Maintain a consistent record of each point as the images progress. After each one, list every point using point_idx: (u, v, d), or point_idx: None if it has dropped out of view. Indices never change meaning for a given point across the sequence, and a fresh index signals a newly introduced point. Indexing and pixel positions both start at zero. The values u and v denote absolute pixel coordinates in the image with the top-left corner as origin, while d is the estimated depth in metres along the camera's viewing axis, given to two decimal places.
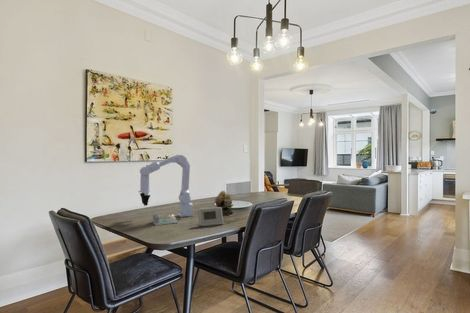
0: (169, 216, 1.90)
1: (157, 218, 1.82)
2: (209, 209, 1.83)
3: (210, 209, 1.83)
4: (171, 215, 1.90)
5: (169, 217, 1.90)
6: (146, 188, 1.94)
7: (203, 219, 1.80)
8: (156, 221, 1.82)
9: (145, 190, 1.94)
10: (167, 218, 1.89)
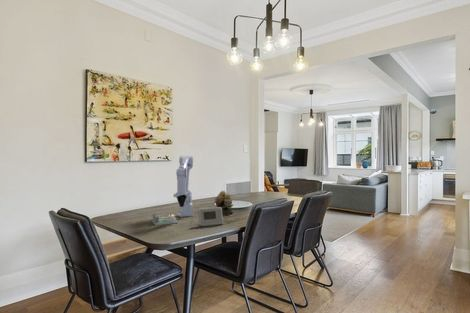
0: (169, 216, 1.90)
1: (157, 218, 1.82)
2: (209, 209, 1.83)
3: (210, 209, 1.83)
4: (171, 215, 1.90)
5: (169, 217, 1.90)
6: (179, 190, 1.90)
7: (203, 219, 1.79)
8: (156, 221, 1.82)
9: (179, 192, 1.91)
10: (167, 218, 1.89)
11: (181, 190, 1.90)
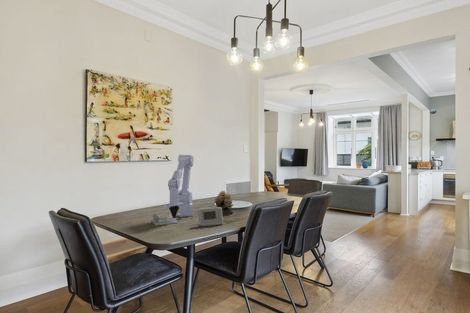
0: (167, 216, 1.89)
1: (157, 218, 1.82)
2: (209, 209, 1.83)
3: (210, 209, 1.83)
4: (169, 215, 1.90)
5: None
6: (171, 201, 1.89)
7: (203, 219, 1.79)
8: (156, 221, 1.82)
9: (170, 203, 1.89)
10: (165, 218, 1.88)
11: (172, 201, 1.88)
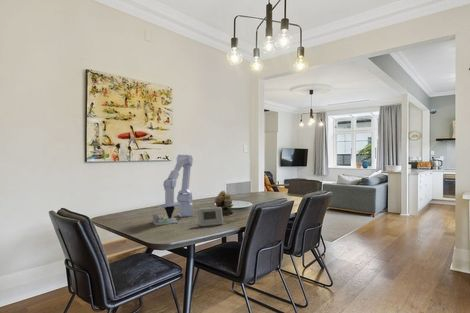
0: (162, 217, 1.88)
1: (157, 218, 1.82)
2: (209, 209, 1.83)
3: (210, 209, 1.83)
4: (164, 216, 1.88)
5: (162, 218, 1.88)
6: (166, 201, 1.88)
7: (203, 219, 1.79)
8: (156, 221, 1.82)
9: (165, 203, 1.88)
10: (160, 219, 1.87)
11: (167, 201, 1.87)
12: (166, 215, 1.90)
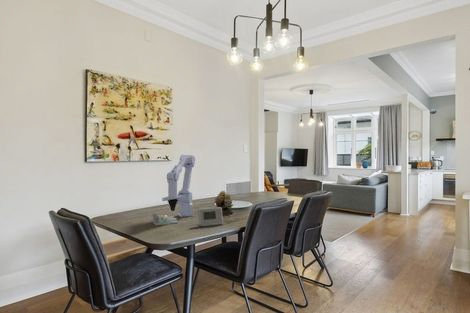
0: (162, 217, 1.88)
1: (157, 218, 1.82)
2: (209, 209, 1.83)
3: (210, 209, 1.83)
4: (164, 216, 1.88)
5: (162, 218, 1.88)
6: (169, 194, 1.88)
7: (203, 219, 1.79)
8: (156, 221, 1.82)
9: (169, 196, 1.89)
10: (160, 219, 1.87)
11: (171, 194, 1.88)
12: (166, 215, 1.90)
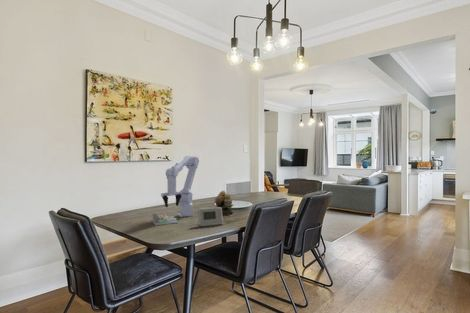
0: (162, 217, 1.88)
1: (157, 218, 1.82)
2: (209, 209, 1.83)
3: (210, 209, 1.83)
4: (164, 216, 1.88)
5: (162, 218, 1.88)
6: (168, 190, 1.92)
7: (203, 219, 1.79)
8: (156, 221, 1.82)
9: None
10: (160, 219, 1.87)
11: (169, 190, 1.92)
12: (166, 215, 1.90)
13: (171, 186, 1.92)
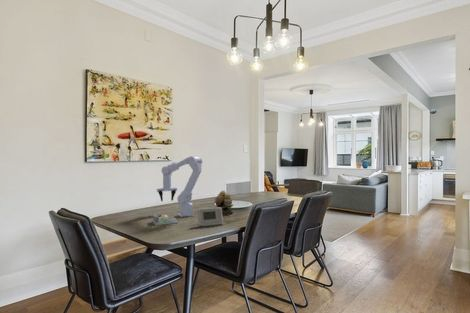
0: (162, 217, 1.88)
1: (157, 218, 1.82)
2: (209, 209, 1.83)
3: (210, 209, 1.83)
4: (164, 216, 1.88)
5: (162, 218, 1.88)
6: (163, 186, 2.13)
7: (203, 219, 1.79)
8: (156, 221, 1.82)
9: (163, 187, 2.14)
10: (160, 219, 1.87)
11: (164, 186, 2.12)
12: (166, 215, 1.90)
13: (165, 182, 2.12)
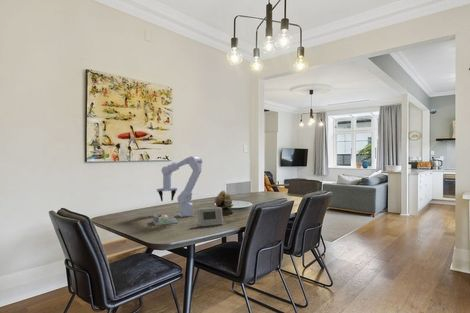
0: (162, 217, 1.88)
1: (157, 218, 1.82)
2: (209, 209, 1.83)
3: (210, 209, 1.83)
4: (164, 216, 1.88)
5: (162, 218, 1.88)
6: (163, 186, 2.13)
7: (203, 219, 1.79)
8: (156, 221, 1.82)
9: (163, 187, 2.14)
10: (160, 219, 1.87)
11: (164, 186, 2.12)
12: (166, 215, 1.90)
13: (165, 182, 2.12)
